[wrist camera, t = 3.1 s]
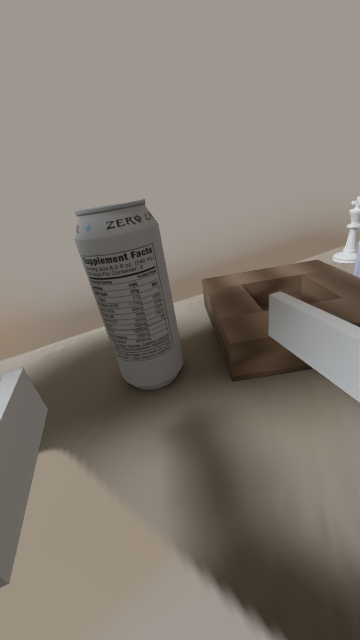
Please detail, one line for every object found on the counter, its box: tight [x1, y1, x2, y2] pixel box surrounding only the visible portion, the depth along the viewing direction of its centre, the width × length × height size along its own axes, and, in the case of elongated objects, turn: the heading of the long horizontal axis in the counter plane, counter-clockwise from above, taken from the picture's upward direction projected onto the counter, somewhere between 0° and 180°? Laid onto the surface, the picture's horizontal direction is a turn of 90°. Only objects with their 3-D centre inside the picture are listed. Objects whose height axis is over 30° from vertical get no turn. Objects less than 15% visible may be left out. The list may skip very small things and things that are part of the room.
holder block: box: [202, 260, 360, 381], centre depth 27 cm, size 16×16×4 cm
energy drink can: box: [75, 199, 183, 390], centre depth 20 cm, size 6×6×15 cm
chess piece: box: [332, 196, 360, 263], centre depth 40 cm, size 5×5×10 cm
